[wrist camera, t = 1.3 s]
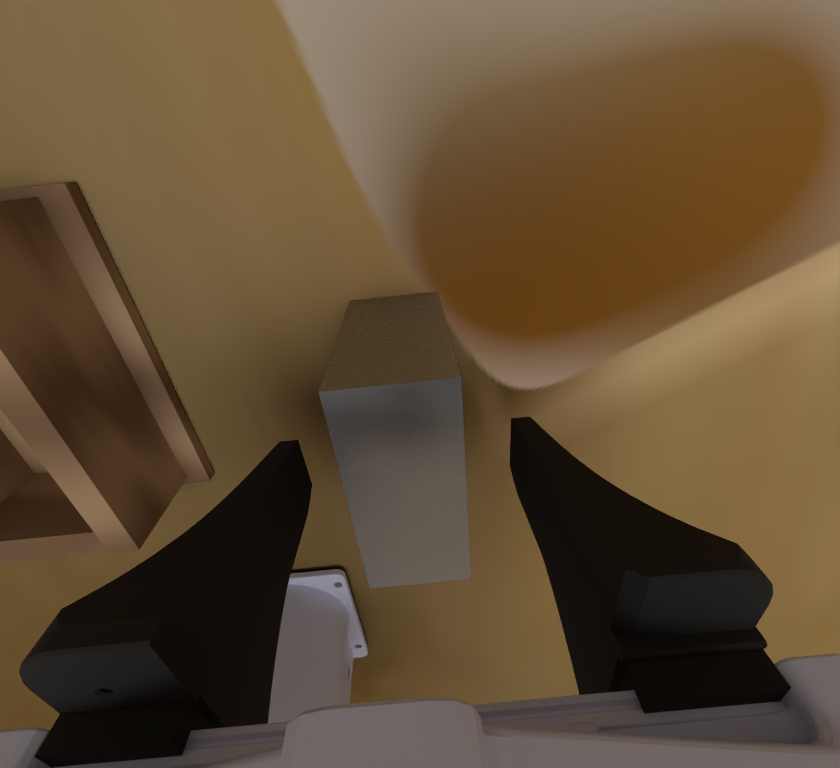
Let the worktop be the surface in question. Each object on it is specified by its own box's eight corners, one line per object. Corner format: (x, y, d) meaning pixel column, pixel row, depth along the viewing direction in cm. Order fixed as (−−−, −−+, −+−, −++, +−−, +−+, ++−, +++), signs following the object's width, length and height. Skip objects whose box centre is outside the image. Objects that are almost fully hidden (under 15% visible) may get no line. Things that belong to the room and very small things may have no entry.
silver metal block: (449, 448, 20) (470, 578, 14) (379, 455, 20) (369, 588, 14) (437, 291, 16) (461, 377, 10) (349, 300, 16) (318, 391, 10)
